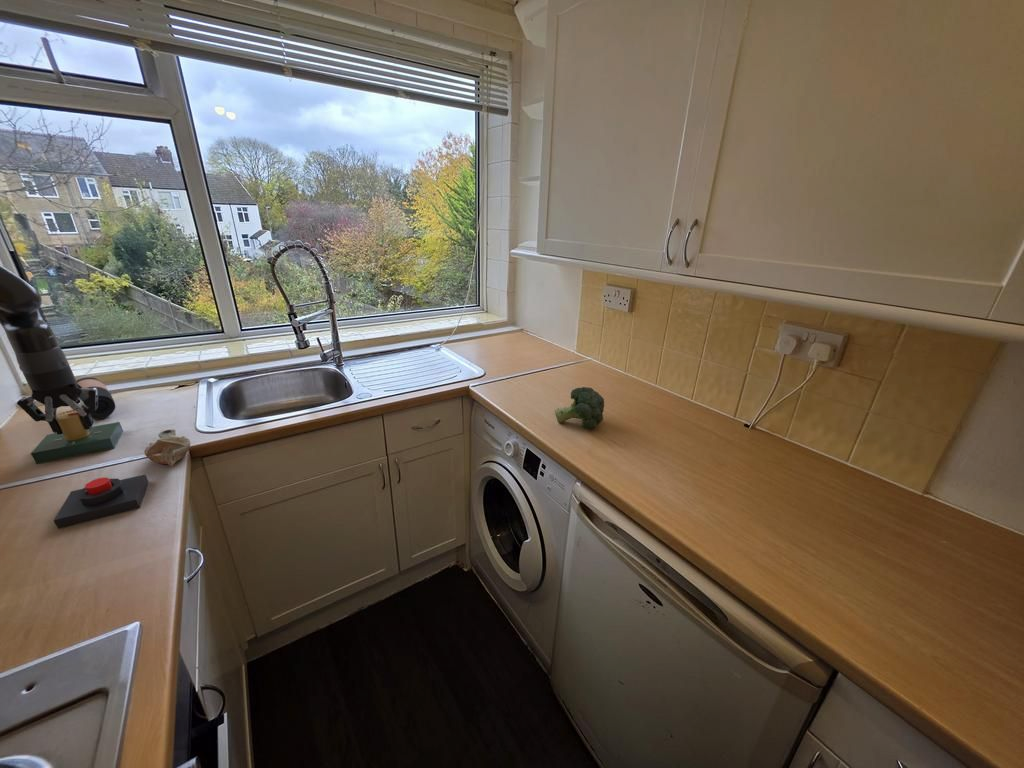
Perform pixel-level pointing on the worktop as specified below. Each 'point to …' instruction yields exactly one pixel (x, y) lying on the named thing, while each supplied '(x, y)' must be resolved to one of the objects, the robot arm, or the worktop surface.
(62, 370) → the robot arm
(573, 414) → the vegetable
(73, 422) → the dimmer knob
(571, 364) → the worktop surface
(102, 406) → the travel mug
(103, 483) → the light button
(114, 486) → the switch block
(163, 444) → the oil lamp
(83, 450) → the dimmer panel
